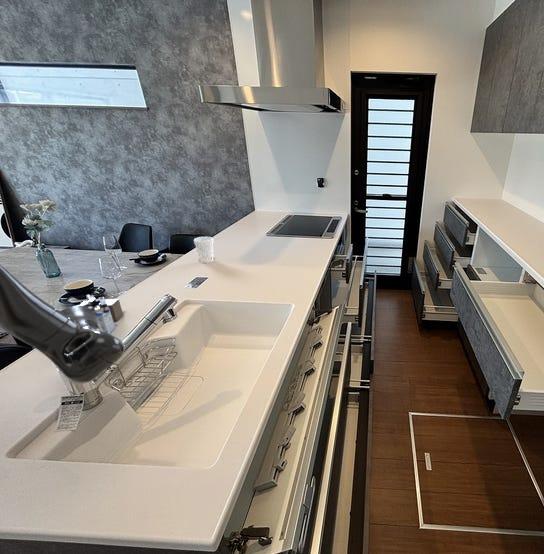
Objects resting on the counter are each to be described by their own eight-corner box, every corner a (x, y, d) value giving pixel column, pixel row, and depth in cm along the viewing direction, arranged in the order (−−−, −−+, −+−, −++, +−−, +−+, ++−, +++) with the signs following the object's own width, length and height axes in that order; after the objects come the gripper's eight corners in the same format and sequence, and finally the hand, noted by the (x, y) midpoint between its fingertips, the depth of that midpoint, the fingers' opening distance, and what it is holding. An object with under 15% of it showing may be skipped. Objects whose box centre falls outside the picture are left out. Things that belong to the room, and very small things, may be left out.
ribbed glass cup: (194, 263, 168) (189, 240, 163) (204, 257, 177) (200, 236, 172) (210, 264, 168) (206, 242, 162) (219, 259, 176) (216, 237, 171)
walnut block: (101, 322, 111) (95, 306, 109) (108, 315, 116) (102, 299, 113) (117, 321, 113) (111, 305, 110) (123, 314, 117) (118, 298, 114)
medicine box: (82, 336, 103) (73, 314, 100) (90, 329, 107) (82, 307, 104) (108, 334, 105) (101, 313, 102) (115, 327, 109) (109, 306, 106)
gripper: (111, 303, 78) (97, 283, 87) (31, 323, 68) (24, 298, 77) (119, 328, 81) (104, 306, 90) (43, 351, 71) (36, 323, 80)
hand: (67, 302), depth 84 cm, fingers open, 8 cm apart
